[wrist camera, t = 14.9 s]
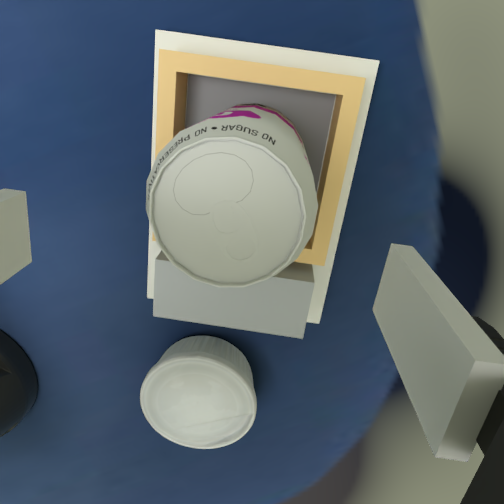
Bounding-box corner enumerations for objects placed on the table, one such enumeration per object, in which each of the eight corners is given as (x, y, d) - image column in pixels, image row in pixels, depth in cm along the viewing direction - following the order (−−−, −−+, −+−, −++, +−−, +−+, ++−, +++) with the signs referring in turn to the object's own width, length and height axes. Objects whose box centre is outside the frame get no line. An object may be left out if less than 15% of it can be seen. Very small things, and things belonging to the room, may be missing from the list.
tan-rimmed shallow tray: (317, 312, 39) (324, 358, 33) (153, 287, 39) (128, 328, 33) (373, 61, 31) (397, 57, 24) (163, 32, 31) (131, 19, 24)
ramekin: (216, 427, 46) (208, 468, 41) (134, 372, 44) (116, 409, 39) (282, 367, 42) (281, 404, 37) (195, 304, 40) (183, 335, 35)
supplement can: (181, 129, 31) (101, 166, 18) (282, 84, 30) (280, 87, 16) (224, 223, 34) (183, 319, 20) (319, 187, 32) (345, 266, 18)
